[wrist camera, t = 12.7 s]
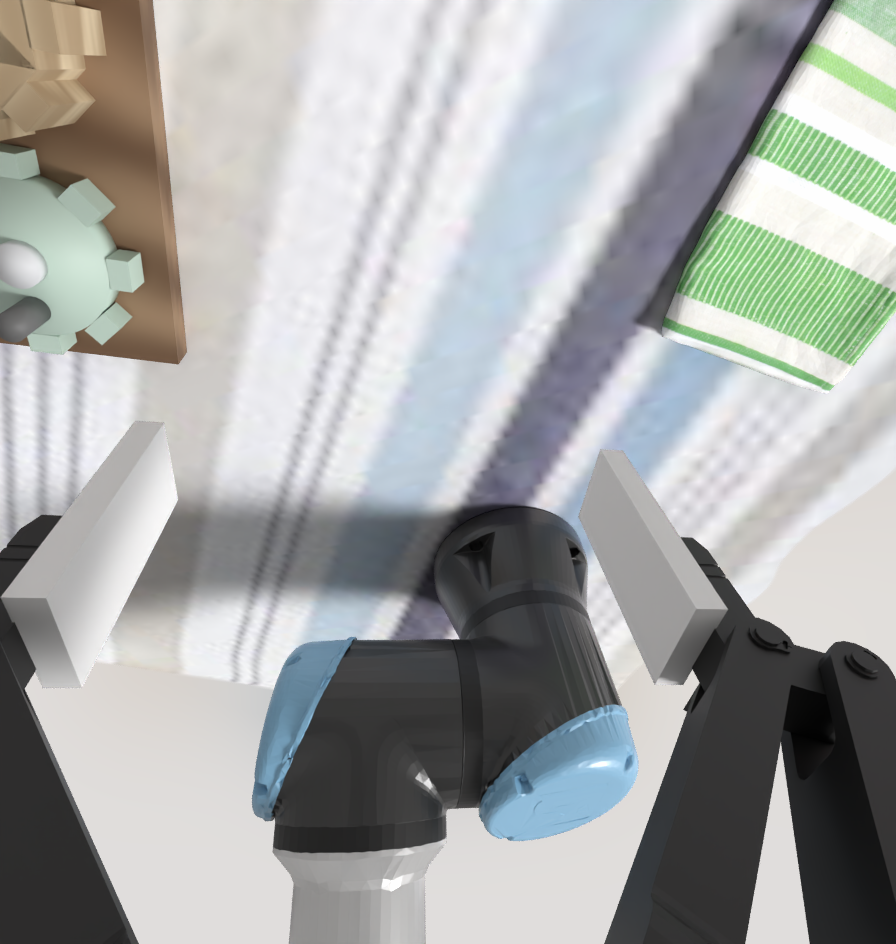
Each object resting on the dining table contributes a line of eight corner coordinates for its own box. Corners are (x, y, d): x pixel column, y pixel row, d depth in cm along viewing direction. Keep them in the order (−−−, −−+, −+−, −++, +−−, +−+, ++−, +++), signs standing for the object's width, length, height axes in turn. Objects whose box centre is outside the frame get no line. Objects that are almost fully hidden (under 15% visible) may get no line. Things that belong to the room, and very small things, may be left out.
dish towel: (1074, 66, 34) (1121, 66, 32) (815, 386, 47) (836, 402, 45) (865, -72, 30) (903, -83, 28) (639, 325, 42) (653, 339, 40)
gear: (153, 351, 37) (125, 386, 33) (-35, 328, 35) (-89, 362, 31) (128, 166, 31) (90, 181, 27) (-104, 124, 29) (-183, 134, 25)
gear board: (186, 352, 40) (159, 391, 35) (-34, 324, 37) (-96, 363, 32) (135, -179, 25) (75, -237, 20) (-237, -285, 22) (-407, -379, 18)
